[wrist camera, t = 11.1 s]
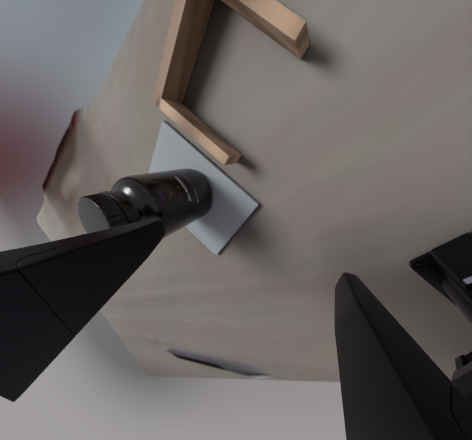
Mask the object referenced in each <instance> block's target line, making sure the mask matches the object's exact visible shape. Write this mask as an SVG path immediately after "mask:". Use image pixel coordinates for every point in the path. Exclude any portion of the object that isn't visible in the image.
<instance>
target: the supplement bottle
mask: <svg viewBox="0 0 472 440" xmlns="http://www.w3.org/2000/svg"><path fill="white" fill-rule="evenodd" d="M211 205H212V191H211V187H210V185H209V183H208V181H207V180H206V178H205V177H204V176H203V175H202V174H201V173H199V172H198V171H196V170H193V169H189V168H185V169H176V170H169V171H161V172H154V173H147V174H139V175H132V176H126V177H123V178H121V179H119V180H118V181H117V182H116V183H115V184H114V185H113V187H112V189H111V191H104V192H100V193H98V194H93V195H88V196H83V197H81V198H80V199H79V201H78V204H77V207H78V208H77V209H78V214H79V218H80V220H81V223H82V225H83V227H84V229H85V231H86V233H87V234H88V233H92V232H97V231H101V230H105V229H110V228H114V227H118V226H123V225H127V224H131V223H136V222H140V221H144V220H149V219H153V218H157V219H161V220H162V221H163V223H164V228H165V235H164V237H166V236H168V235H170V234H172V233H174V232H176V231H177V230H179V229H181V228H183V227H185V226H187V225H189V224H190V223H192V222H194V221H196V220H198V219H200V218H201V217H203V216H205V215H206V214H207V213H208V212H209V210H210V208H211ZM164 237H163V238H164ZM163 238H162V239H163Z"/></svg>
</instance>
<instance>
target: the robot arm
mask: <svg viewBox="0 0 472 440" xmlns="http://www.w3.org/2000/svg"><path fill="white" fill-rule="evenodd" d="M164 235H165V228H164V223H163V221H162V220H161V219H157V218H153V219H149V220H144V221H140V222H136V223H131V224H127V225H123V226H118V227H114V228H110V229H105V230H101V231H97V232H92V233H88V234H83V235H79V236H75V237H70V238H66V239H62V240H57V241H52V242H48V243H43V244H38V245H33V246H28V247H23V248H18V249H13V250H7V251H2V252H0V396H2V397H4V398H6V399H8V400H10V401H12V402H14V401H16V399H18V398H19V397H20V396H21V394H23V393H24V392H25V390H26V389H27V388H28V387H29V386H30V385H31V384H32V383H33V382H34V381H35V380H36V379H37V377H38V376H39V375H40V374H41V373H42V372H43V371H44V370H45V369H46V368H47V367H48V365H50V363H51V362H52V361H53V360H54V359H55V358H56V357H57V356H58V355H59V354H60V353H61V351H62V350H63V349H64V348H65V347H66V346H67V345H68V344H69V343H70V342H71V341H72V339H73V338H74V337H75V335H77V334H78V333H79V332H80V330H82V328H83V327H84V326H85V325H86V324H87V323H88V322H89V321H90V320H91V318H92V317H93V316H94V315H95V314H96V313H97V312H98V311H99V310H100V309H101V308H102V307H103V306H104V305H105V303H106V302H107V301H108V300H109V299H110V298H111V297H112V296H113V295H114V294H115V293H116V292H117V290H118V289H119V288H120V287H121V286H122V285H123V284H124V283H125V282H126V281H127V280H128V279H129V277H130V276H131V275H132V274H133V273H134V272H135V271H136V270H137V269H138V268H139V267H140V265H141V264H142V263H143V262H144V261H145V260H146V259H147V258H148V257H149V255H150V254H151V253H152V251H153V250H154V249H155V247H156V246H157V245H158V244H159V242H160V241H161V240H162V238H163V237H164ZM416 264H421V265H420V266H415V265H416ZM409 265H410V267H411V268H412V269H413V270H414V271H415V272H416V273H418V274H419V275H420V276H421V277H422V278H424V279H425V280H426V281H427V282H428V283H430V284H431V285H432V286H433V287H434V288H436V289H437V290H438V291H439V292H440V293H442V294H443V295H444V296H445V297H446V298H448V299H449V300H450V301H451V302H453V303H454V304H455V305H456V306H457V307H458V308H459V309H460V310H461V312H462V313H463V314H464V315H465V317H466V318H467V319H468V320H469V322H470V323H471V324H472V232H470V233H466V234H463V235H461V236H459V237H457V238H455V239H453V240H451V241H449V242H447V243H445V244H443V245H441V246H438V247H436V248H434V249H432V250H431V251H430V252H428V253H426V254H423V255H421V256H419V257H417V258H415V259H413V260H411V261H410V262H409ZM335 336H336V345H337V355H338V364H339V374H340V383H341V392H342V402H343V410H344V420H345V430H346V438H347V440H472V352H470V353H469V354H467V355H466V356H464V355H461V356H459V357H458V358H456V359H455V362H456V368H457V370H456V371H455V372H454V373H453V376H452V379H451V381H450V380H449V378H448V377H447V376H446V375H445V374H444V373H443V372H442V371H441V370H440V368H439V367H438V366H437V365H436V364H435V363H434V362H433V361H432V359H431V358H430V357H429V356H428V355H427V354H426V353H425V352H424V351H423V349H422V348H421V347H420V346H419V345H418V344H417V343H416V342H415V340H414V339H413V338H412V337H411V336H410V335H409V334H408V333H407V332H406V330H405V329H404V328H403V327H402V326H401V325H400V324H399V323H398V321H397V320H396V319H395V318H394V317H393V316H392V315H391V314H390V313H389V311H388V310H387V309H386V308H385V307H384V306H383V305H382V304H381V302H380V301H379V300H378V299H377V298H376V297H375V296H374V295H373V294H372V292H371V291H370V290H369V289H368V288H367V287H366V286H365V285H364V283H363V282H362V281H361V280H360V279H359V278H358V277H357V276H356V275H354V274H350V273H347V272H345V273H343V274H342V276H341V277H340V279H339V281H338V283H337V285H336V288H335Z"/></svg>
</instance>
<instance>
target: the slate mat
mask: <svg viewBox="0 0 472 440" xmlns="http://www.w3.org/2000/svg"><path fill="white" fill-rule="evenodd" d="M185 168H189V169H193V170H196V171H198V172H199V173H201V174H202V175H203V176H204V177H205V178H206V180H207V181H208V183H209V185H210V187H211V191H212V205H211V208H210V210H209V212H208V213H207V214H206V215H205V216H203V217H201V218H200V219H198V220H196V221H194V222H192V223H190V224H189V225H187V226H185V227H186V228H187V229H189V230H190V231H191V232H192V233H193V234H194V235H195V236H196V237H197V238H198V239H199V240H200V241H201V242H202V243H203V244H204V245H205V246H206V247H207V248H208V249H209V250H211V251H212V252H213V253H214V254H215V255H217V254H218V253H219V252H220V250H221V249H222V248H223V247H224V246H225V245H226V243H227V242H228V241H229V240H230V239H231V237H232V236H233V235H234V234H235V233H236V231H237V230H238V229H239V228H240V227H241V225H242V224H243V223H244V222H245V221H246V219H247V218H248V217H249V216H250V215H251V213H252V212H253V211H254V210H255V209H256V207H257V206H258V205H259V204H260V203H259V202H257V201H256V200H255V199H254V198H253V197H252V196H251V195H249V194H248V193H247V192H246V191H245V190H244V189H243V188H241V187H240V186H239V185H238V184H237V183H236V182H235V181H233V180H232V179H231V178H230V177H229V176H228V175H227V174H225V173H224V172H223V171H222V170H221V169H220V168H219V167H218V166H216V165H215V164H214V163H213V162H212V161H211V160H210V159H208V158H207V157H206V156H205V155H204V154H203V153H202V152H200V151H199V150H198V149H197V148H196V147H195V146H194V145H192V144H191V143H190V142H189V141H188V140H187V139H186V138H184V137H183V136H182V135H181V134H180V133H179V132H178V131H176V130H175V129H174V128H173V127H172V126H171V125H170V124H169V123H167V122H166V121H162V125H161V128H160V132H159V135H158V139H157V143H156V146H155V150H154V153H153V157H152V161H151V164H150V168H149V172H148V173H154V172H161V171H169V170H176V169H185Z"/></svg>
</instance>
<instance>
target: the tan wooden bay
mask: <svg viewBox="0 0 472 440" xmlns="http://www.w3.org/2000/svg"><path fill="white" fill-rule="evenodd" d="M220 1H222V2H223V3H225V4H226V5H227V6H229V7H230V8H231V9H233V10H234V11H235V12H237V13H238V14H240V15H241V16H242V17H244V18H245V19H246V20H248V21H249V22H250V23H252V24H253V25H254V26H256V27H257V28H259V29H260V30H261V31H263V32H264V33H265V34H267V35H268V36H269V37H271V38H272V39H273V40H275V41H276V42H278V43H279V44H280V45H282V46H283V47H284V48H286V49H287V50H288V51H290V52H291V53H292V54H294V55H295V56H297V57H298V58H299V59H301V58H302V56H303V55H304V53H305V52H306V50H307V48H308V47H309V45H310V42H309V37H308V31H307V25H306V21H304V20H303V19H302V18H300V17H299V16H297V15H296V14H294V13H293V12H292V11H290V10H289V9H287V8H286V7H285V6H283V5H282V4H280V3H279V2H277V1H276V0H220ZM214 3H215V0H175V5H174V9H173V13H172V18H171V22H170V27H169V31H168V35H167V40H166V44H165V49H164V53H163V57H162V62H161V66H160V70H159V75H158V79H157V84H156V88H155V92H154V97H153V101H152V102H153V103H154V104H155V105H156V106H157V107H158V108H159V109H161V110H162V111H163V112H164V113H165V114H166V115H167V116H169V117H170V118H171V119H172V120H173V121H174V122H175V123H177V124H178V125H179V126H180V127H181V128H182V129H184V130H185V131H186V132H187V133H188V134H189V135H190V136H192V137H193V138H194V139H195V140H196V141H197V142H198V143H200V144H201V145H202V146H203V147H204V148H205V149H206V150H208V151H209V152H210V153H211V154H212V155H213V156H215V157H216V158H217V159H218V160H219V161H220V162H221V163H223V164H224V165H227V164H232V163H237V162H238V161H239V159H240V157H241V156H242V155H241V154H240V153H239V152H238V151H237V150H236V149H234V148H233V147H232V146H231V145H230V144H229V143H227V142H226V141H225V140H224V139H223V138H221V137H220V136H219V135H218V134H217V133H216V132H214V131H213V130H212V129H211V128H210V127H209V126H207V125H206V124H205V123H204V122H203V121H201V120H200V119H199V118H198V117H197V116H196V115H194V114H193V113H192V112H191V111H190V110H189V109H187V108H186V107H185V106H184V105H183V104H182V102H183V99H184V96H185V93H186V89H187V86H188V83H189V80H190V77H191V74H192V71H193V68H194V65H195V62H196V58H197V55H198V52H199V49H200V46H201V43H202V40H203V37H204V34H205V31H206V28H207V24H208V21H209V18H210V15H211V12H212V9H213V6H214Z"/></svg>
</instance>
